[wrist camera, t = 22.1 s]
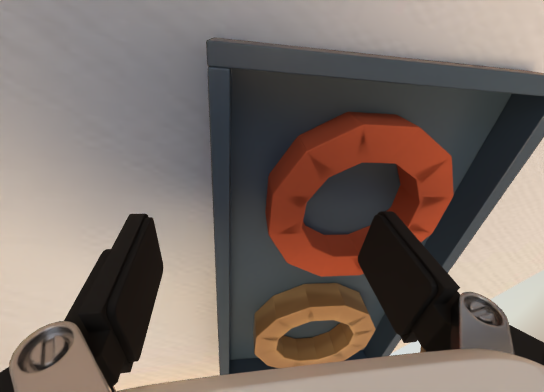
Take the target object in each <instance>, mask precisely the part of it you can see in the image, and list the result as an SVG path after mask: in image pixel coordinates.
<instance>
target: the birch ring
mask: <svg viewBox="0 0 544 392" xmlns="http://www.w3.org/2000/svg"><path fill="white" fill-rule="evenodd" d="M323 320H335V321H338V322H341V323H340V324H338V325H337V326H336V327H334V328H333V329H332V330H330V331H329V332H326V333H323V334H320V335H317V336H315V337H312V338H297V339H295V338H291V337H287V336H284V334H285V333H287V332H288V331H289V330H290V329H291V328H294V327H297V326H299V325H302V324H305V323H308V322H311V321H323ZM375 330H376V329H375V327H374V324H373V322H372V320H371V317H370V315H369V313H368V311H367V308H366V306H365V304H364V302H363V300H362V297H361V295H360V293H359V292H357V291H355V290H352V289H350V288H347V287H345V286H343V285H340V284H338V283H318V284H303V285H300V286H297V287H295V288H292V289H290V290H287V291H284V292H282V293H279V294H276V295H274V296H272V297H271V298H270V299H269V300H268V301H267V302H266V303H265V304H264V305H263V306H262V307H261V308H260V309H259V310H258V311H257V312H256V313H255V316H254V327H253V338H254V354H255V355H256V356H257V357H258V358H259V359H261V360H262V361H263V362H264V363H265V364H266V365H268V366H271V367H275V368H287V367H295V366H304V365H313V364H321V363H330V362H339V361H344V360H346V359H348V358H349V357H351V356H352V355H354V354H355V353H357V352H358V351H360V350H361V349H363V348H364V347H366V346H367V344H368V342H369V340H370V339H371V337H372V335H373V333H374V332H375Z"/></svg>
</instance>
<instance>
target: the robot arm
mask: <svg viewBox="0 0 544 392" xmlns="http://www.w3.org/2000/svg"><path fill="white" fill-rule="evenodd" d="M358 263H359V265H360V267H361V269H362V271H363V273H364V275H365V277H366V278H367V280H368V282H369V284H370V286H371V288H372V290H373V292H374V293H375V295H376V297H377V299H378V301H379V303H380V305H381V307H382V308H383V310H384V312H385V314H386V316H387V318H388V320H389V322H390V323H391V325H392V327H393V329H394V331H395V332H396V333H397V334H398V335H400V337H401V338H402V340H403V342H404V343H409V342H416V341H417V340H418V341H419V343H420V344H421V351H420V353H413V354H402V355H393V356H384V357H375V358H366V359H357V360H348V361H339V362H330V363H321V364H313V365H304V366H295V367H287V368H278V369H269V370H261V371H253V372H244V373H236V374H228V375H219V376H211V377H203V378H195V379H188V380H181V381H174V382H166V383H159V384H152V385H146V386H141V387H136V388H130V389H125V390H121V391H117V392H544V343H543V342H542V341H539V340H537V339H536V338H534V337H532V336H530V335H528V334H526V333H524V332H522V331H520V330H518V329H516V328H514V327H512V326H511V325H509V322H508V320H507V317H506V315H505V314H504V312H503V311H502V310H501V309H500V308H499V307H498V306H497V305H496V304H495V303H494V302H492V301H491V300H490V299H488V298H486V297H484V296H482V295H480V294H477V293H474V292H464V293H462V294H461V295H460V294H459V293H458V292H457V290H458V289H459V288H460V287H459V286H458V285H457V284H456V282H455V281H454V280H453V279H452V278H451V277H450V275H449V274H448V273H447V272H446V271H445V270H444V269H443V267H442V266H441V265H440V264H439V263H438V262H437V261H436V259H435V258H434V257H433V256H432V255H431V254H430V253H429V251H428V250H427V249H426V248H425V247H424V246H423V244H422V243H421V242H420V241H419V240H418V239H417V238H416V236H415V235H414V234H413V233H412V232H411V231H410V230H409V228H408V227H407V226H406V225H405V224H404V223H403V221H402V220H401V219H400V218H399V217H398V216H397V215H396V213H394V212H392V211H381V212H379V213H378V214H377V215H375V216H374V218H373V220H372V223H371V225H370V228H369V230H368V233H367V235H366V238H365V240H364V243H363V245H362V248H361V250H360V252H359V255H358ZM162 273H163V262H162V257H161V252H160V248H159V243H158V238H157V234H156V229H155V224H154V220H153V218H149V217H148V215H147V214H130V215H129V216H128V218H127V220H126V222H125V224H124V226H123V228H122V230H121V231H120V233H119V235H118V237H117V239H116V241H115V243H114V245H113V247H112V249H106V250H104V251H103V252H102V254H101V255H100V257H99V259H98V261H97V262H96V264H95V266H94V268H93V270H92V271H91V273H90V275H89V277H88V279H87V280H86V282H85V284H84V286H83V288H82V289H81V291H80V293H79V295H78V297H77V298H76V300H75V302H74V304H73V306H72V307H71V309H70V311H69V313H68V315H67V316H66V318H65V320H64V321H59V322H55V323H51V324H48V325H46V326H44V327H42V328H39V329H38V330H36V331H35V332H33V333H32V334H30V335H29V336H28V337H27V338H26V339H25V340H24V341H22V342H21V343H20V345H19V346H18V347H17V349H16V350H15V351H14V353H13V355H12V357H11V360H10V362H9V367H8V368H6V369H5V370H3V371H2V372H0V392H116V390H115V388H114V385H115V384H116V383H117V382H118V379H119V376H120V373H127V372H131V369H132V365H133V362H135V361H138V360H139V358H140V355H141V352H142V348H143V344H144V341H145V337H146V333H147V329H148V326H149V322H150V318H151V314H152V311H153V307H154V303H155V300H156V296H157V292H158V288H159V285H160V281H161V277H162Z"/></svg>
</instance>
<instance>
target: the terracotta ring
mask: <svg viewBox="0 0 544 392" xmlns="http://www.w3.org/2000/svg"><path fill="white" fill-rule="evenodd" d="M360 163H395V164H396V165H397V169H398V174H399V180H400V187H399V189H398V192H397V194H396V196H395V199H394V201H393V203H392V206H391V207H390V208H389V209H388V210H387V211H392V212H394V213H396V215H397V216H398V217H399V218H400V219H401V220H402V221H403V223H404V224H405V225H406V226H407V227H408V228H409V230H410V231H411V232H412V233H413V234H414V235H415V236H416V238H417V239H418V240H419V241H420V242H422V241H423V240H425V239H426V238H427V237H428V236H430V235H431V234H432V233H433V231H434V230H435V228H436V226H437V224H438V223H439V221H440V219H441V217H442V216H443V214H444V212H445V210H446V208H447V207H448V205H449V203H450V201H451V200H452V198H453V196H454V195H453V173H452V157H451V155H450V154H449V153H448V152H447V151H446V150H444V149H443V148H442V147H441V146H440V145H439V144H438V143H437V142H436V141H435V140H433V139H432V138H431V137H430V136H429V135H428V134H427V133H426V132H425V131H424V130H422V129H421V128H420V127H419V126H417V125H415V124H413V123H411V122H409V121H408V120H406V119H404V118H402V117H400V116H398V115H396V114H379V113H362V112H346V113H344V114H342V115H340V116H337V117H335V118H333V119H331V120H329V121H327V122H325V123H323V124H321V125H319V126H317V127H315V128H313V129H311V130H309V131H307V132H305V133H303V134H301V135H299V136H298V137H297V138H296V139H295V140H294V142H293V143H292V144H291V146H290V147H289V148H288V150H287V151H286V152H285V154H284V155H283V156H282V158H281V159H280V160H279V162H278V163H277V164H276V166H275V167H274V168H273V170H272V171H271V173H270V174H269V176H268V188H267V199H266V211H265V214H266V221H267V227H268V234H269V236H270V238H271V239H272V241H273V242H274V244H275V245H276V247H277V248H278V250H279V251H280V253H281V254H282V256H283V257H284V259H285V260H286V262H287V263H289V264H291V265H293V266H296V267H298V268H301V269H303V270H306V271H308V272H311V273H313V274H316V275H318V276H321V277H322V276H349V275H361V274H364V273H363V271H362V269H361V267H360V265H359V263H358V255H359V252H360V250H361V248H362V245H363V243H364V240H365V238H366V235H367V233H368V230H369V228H370V226H367V227H365V228H362V229H360V230H358V231H355V232H353V233H350V234H348V235H323V234H321V233H319V232H317V231H315V230H313V229H311V228H309V227H307V226H305V224H304V222H303V220H304V214H305V209H306V204H307V202H308V201H309V199H310V198H311V197H312V196H313V195H314V194H315V193H316V191H317V190H318V189H319V188H320V187H321V186H322V185H323V184H324V182H325V181H326V180H327V179H328V178H329V177H331V176H333V175H336V174H338V173H340V172H342V171H344V170H347V169H349V168H351V167H353V166H356V165H358V164H360Z"/></svg>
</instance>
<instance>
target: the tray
mask: <svg viewBox="0 0 544 392" xmlns="http://www.w3.org/2000/svg"><path fill="white" fill-rule="evenodd" d="M206 45H207V65H208V66H209V67H208V93H209V117H210V142H211V167H212V192H213V217H214V242H215V267H216V292H217V317H218V342H219V367H220V375H228V374H236V373H244V372H253V371H261V370H269V369H278V368H275V367H271V366H268V365H266V364H265V363H264V362H263V361H262V360H261V359H259V358H258V357H257V356H256V355H255V354H254V338H253V327H254V316H255V313H256V312H257V311H258V310H259V309H260V308H261V307H262V306H263V305H264V304H265V303H266V302H267V301H268V300H269V299H270V298H271V297H272V296H274V295H276V294H279V293H282V292H284V291H287V290H290V289H292V288H295V287H297V286H300V285H303V284H318V283H338V284H340V285H343V286H345V287H347V288H350V289H352V290H355V291H357V292H359V293H360V295H361V297H362V300H363V302H364V304H365V306H366V308H367V311H368V313H369V315H370V317H371V320H372V322H373V324H374V327H375V329H376V330H375V332H374V333H373V335H372V337H371V339H370V340H369V342H368V344H367V346H366V347H364V348H363V349H361V350H360V351H358V352H357V353H355V354H354V355H352V356H351V357H349V358H348V359H346V360H344V361H348V360H357V359H366V358H375V357H384V356H389V355H390V354H391V353H392V351H393V350H394V348H395V347H396V345H397V344H398V343H399V341H400V340H401V337H400V335H398V334H397V333H396V332H395V331H394V329H393V327H392V325H391V323H390V322H389V320H388V318H387V316H386V314H385V312H384V310H383V308H382V307H381V305H380V303H379V301H378V299H377V297H376V295H375V293H374V292H373V290H372V288H371V286H370V284H369V282H368V280H367V278H366V277H365V275H364V274H361V275H349V276H322V277H321V276H318V275H316V274H313V273H311V272H308V271H306V270H303V269H301V268H298V267H296V266H293V265H291V264H289V263H287V262H286V260H285V259H284V257H283V256H282V254H281V253H280V251H279V250H278V248H277V247H276V245H275V244H274V242H273V241H272V239H271V238H270V236H269V234H268V227H267V221H266V214H265V211H266V199H267V188H268V176H269V174H270V173H271V171H272V170H273V168H274V167H275V166H276V164H277V163H278V162H279V160H280V159H281V158H282V156H283V155H284V154H285V152H286V151H287V150H288V148H289V147H290V146H291V144H292V143H293V142H294V140H295V139H296V138H297V137H298V136H299V135H301V134H303V133H305V132H307V131H309V130H311V129H313V128H315V127H317V126H319V125H321V124H323V123H325V122H327V121H329V120H331V119H333V118H335V117H337V116H340V115H342V114H344V113H346V112H362V113H379V114H396V115H398V116H400V117H402V118H404V119H406V120H408V121H409V122H411V123H413V124H415V125H417V126H419V127H420V128H421V129H422V130H424V131H425V132H426V133H427V134H428V135H429V136H430V137H431V138H432V139H433V140H435V141H436V142H437V143H438V144H439V145H440V146H441V147H442V148H443V149H444V150H446V151H447V152H448V153H449V154H450V155H451V157H452V173H453V195H454V196H453V198H452V200H451V201H450V203H449V205H448V207H447V208H446V210H445V212H444V214H443V216H442V217H441V219H440V221H439V223H438V224H437V226H436V228H435V230H434V231H433V233H432V234H431V235H430V236H428V237H427V238H426V239H425V240H423V241H422V242H421V243H422V244H423V246H424V247H425V248H426V249H427V250H428V251H429V253H430V254H431V255H432V256H433V257H434V258H435V259H436V261H437V262H438V263H439V264H440V265H441V266H442V267H443V269H444V270H445V271H446V272H447V273H448V272H449V270H450V269H451V268H452V266H453V265H454V263H455V262H456V261H457V259H458V258H459V256H460V255H461V253H462V252H463V251H464V249H465V248H466V246H467V245H468V244H469V242H470V241H471V239H472V238H473V236H474V235H475V234H476V232H477V231H478V229H479V228H480V227H481V225H482V224H483V222H484V221H485V219H486V218H487V217H488V215H489V214H490V212H491V211H492V210H493V208H494V207H495V205H496V204H497V202H498V201H499V200H500V198H501V197H502V195H503V194H504V193H505V191H506V190H507V188H508V187H509V185H510V184H511V183H512V181H513V180H514V178H515V177H516V176H517V174H518V173H519V171H520V170H521V168H522V167H523V166H524V164H525V163H526V161H527V160H528V159H529V157H530V156H531V154H532V153H533V151H534V150H535V149H536V147H537V146H538V144H539V143H540V142H541V140H542V139H543V137H544V73H538V72H531V71H524V70H514V69H505V68H495V67H486V66H476V65H467V64H458V63H448V62H439V61H429V60H420V59H411V58H401V57H392V56H382V55H373V54H363V53H354V52H345V51H335V50H326V49H316V48H307V47H298V46H288V45H279V44H269V43H260V42H250V41H241V40H232V39H222V38H212V39H209V40H207V42H206ZM399 187H400V180H399V174H398V169H397V165H396V164H395V163H360V164H358V165H356V166H353V167H351V168H349V169H347V170H344V171H342V172H340V173H338V174H336V175H333V176H331V177H329V178H328V179H327V180H326V181H325V182H324V184H323V185H322V186H321V187H320V188H319V189H318V190H317V191H316V193H315V194H314V195H313V196H312V197H311V198H310V199H309V201H308V202H307V204H306V209H305V214H304V220H303V222H304V224H305V226H307V227H309V228H311V229H313V230H315V231H317V232H319V233H321V234H323V235H348V234H350V233H353V232H355V231H358V230H360V229H362V228H365V227H367V226H370V225H371V223H372V220H373V218H374V216H375V215H377V214H378V213H379V212H381V211H387V210H388V209H389V208H390V207H391V206H392V203H393V201H394V199H395V196H396V194H397V192H398V189H399ZM340 323H341V322H338V321H335V320H323V321H311V322H308V323H305V324H302V325H299V326H297V327H294V328H291V329H290V330H289V331H288V332H287V333H285V334H284V336H287V337H291V338H295V339H297V338H312V337H315V336H317V335H320V334H323V333H326V332H329V331H330V330H332V329H333V328H334V327H336V326H337V325H338V324H340Z"/></svg>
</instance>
